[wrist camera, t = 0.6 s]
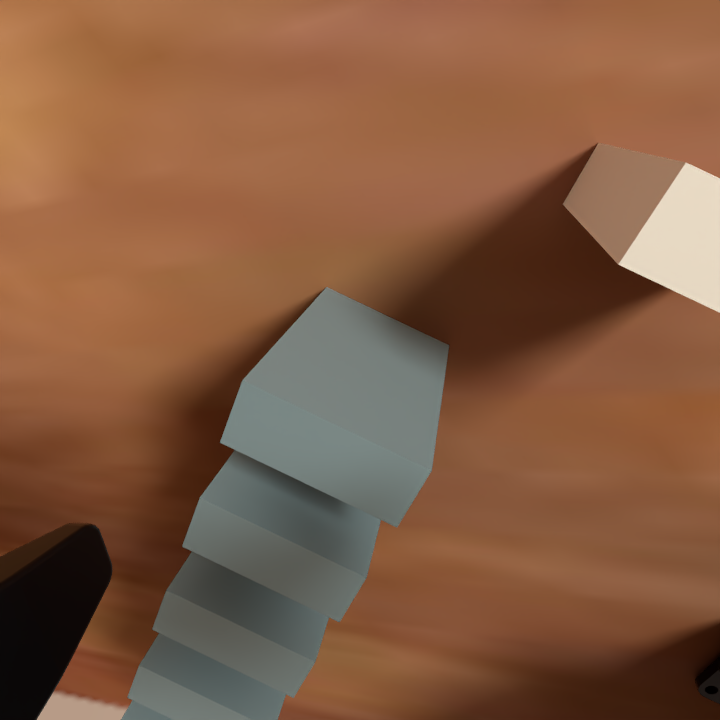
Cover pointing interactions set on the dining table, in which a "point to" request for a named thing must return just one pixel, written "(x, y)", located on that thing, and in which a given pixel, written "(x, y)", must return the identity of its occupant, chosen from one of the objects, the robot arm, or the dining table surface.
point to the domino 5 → (653, 218)
